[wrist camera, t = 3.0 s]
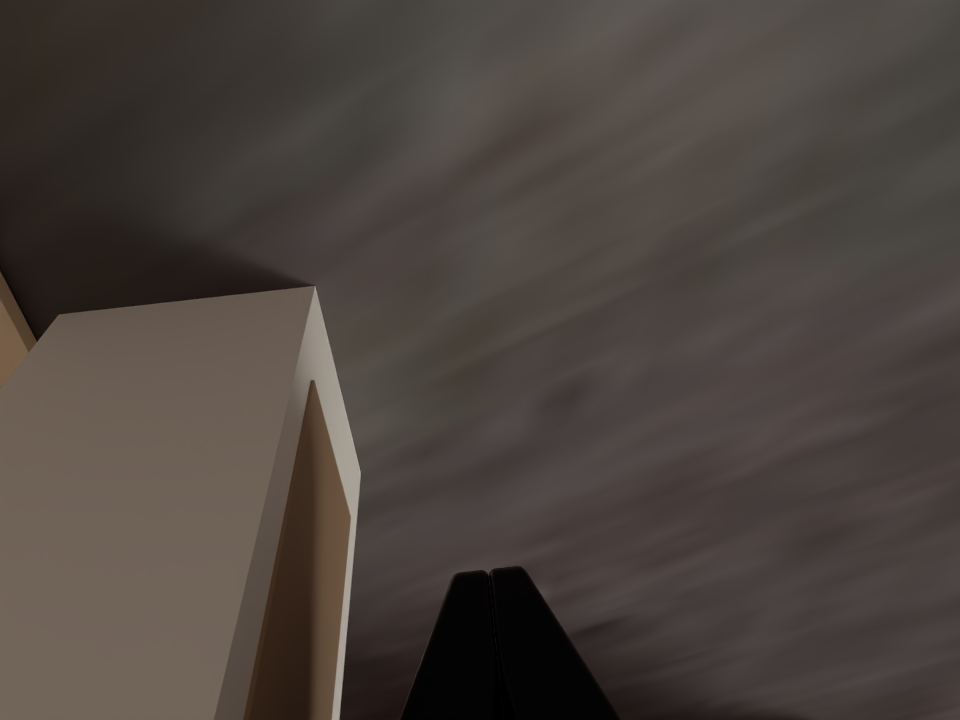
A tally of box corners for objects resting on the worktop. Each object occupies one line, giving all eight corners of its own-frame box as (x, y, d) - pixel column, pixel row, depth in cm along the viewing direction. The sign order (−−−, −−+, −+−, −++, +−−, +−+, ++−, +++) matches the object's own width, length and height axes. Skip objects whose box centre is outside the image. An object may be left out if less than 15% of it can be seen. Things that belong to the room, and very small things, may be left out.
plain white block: (363, 472, 14) (315, 1043, 7) (147, 497, 14) (-104, 1095, 7) (318, 285, 11) (186, 869, 5) (58, 314, 11) (-438, 946, 5)
